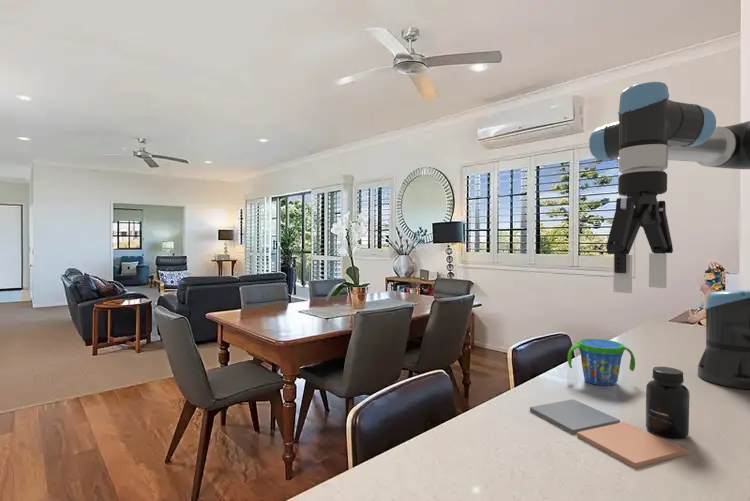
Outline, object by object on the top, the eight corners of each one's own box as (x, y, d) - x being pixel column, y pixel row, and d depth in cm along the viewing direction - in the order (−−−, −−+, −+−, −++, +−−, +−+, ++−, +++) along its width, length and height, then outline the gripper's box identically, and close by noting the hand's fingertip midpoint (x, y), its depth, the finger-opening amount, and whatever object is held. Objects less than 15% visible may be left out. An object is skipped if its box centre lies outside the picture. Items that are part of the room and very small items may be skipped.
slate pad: (573, 402, 97) (573, 399, 97) (619, 423, 85) (619, 419, 85) (530, 410, 93) (529, 407, 93) (573, 434, 81) (572, 429, 81)
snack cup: (629, 378, 113) (629, 339, 112) (641, 391, 103) (641, 349, 102) (565, 373, 117) (564, 336, 117) (570, 386, 107) (570, 346, 107)
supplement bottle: (649, 437, 80) (649, 373, 79) (642, 422, 86) (642, 363, 86) (694, 443, 77) (694, 377, 77) (683, 427, 83) (683, 366, 83)
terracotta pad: (624, 425, 84) (624, 421, 84) (686, 454, 73) (686, 449, 73) (577, 436, 80) (577, 432, 80) (635, 468, 69) (635, 463, 69)
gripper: (650, 180, 87) (649, 284, 88) (584, 168, 73) (583, 292, 74) (693, 176, 81) (692, 287, 82) (631, 162, 67) (629, 296, 67)
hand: (640, 290), depth 78 cm, fingers open, 13 cm apart
